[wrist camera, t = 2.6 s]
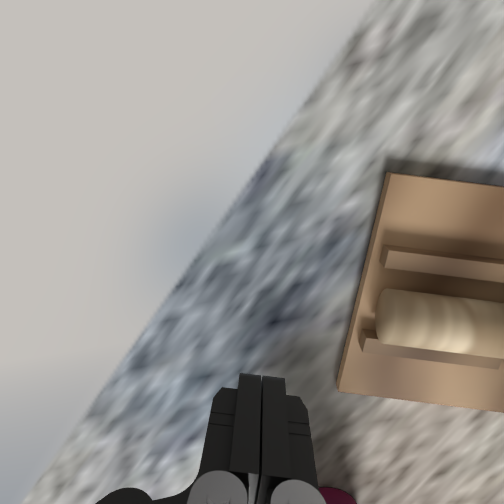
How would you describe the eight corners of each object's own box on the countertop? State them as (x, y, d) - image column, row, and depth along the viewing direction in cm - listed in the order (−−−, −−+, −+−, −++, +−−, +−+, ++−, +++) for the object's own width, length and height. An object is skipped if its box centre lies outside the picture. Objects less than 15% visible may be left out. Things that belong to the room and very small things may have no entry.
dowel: (529, 295, 20) (564, 336, 18) (503, 332, 22) (531, 374, 19) (387, 277, 20) (401, 315, 18) (371, 315, 22) (382, 355, 19)
